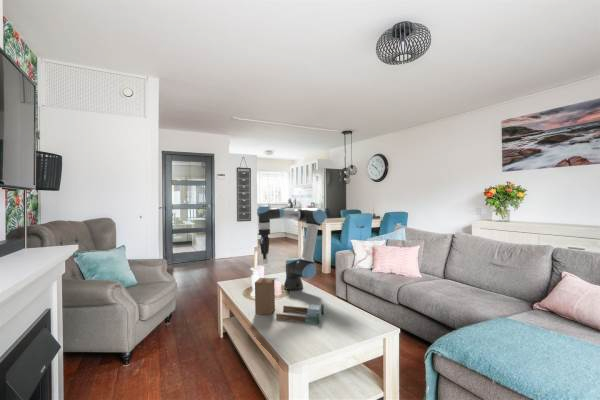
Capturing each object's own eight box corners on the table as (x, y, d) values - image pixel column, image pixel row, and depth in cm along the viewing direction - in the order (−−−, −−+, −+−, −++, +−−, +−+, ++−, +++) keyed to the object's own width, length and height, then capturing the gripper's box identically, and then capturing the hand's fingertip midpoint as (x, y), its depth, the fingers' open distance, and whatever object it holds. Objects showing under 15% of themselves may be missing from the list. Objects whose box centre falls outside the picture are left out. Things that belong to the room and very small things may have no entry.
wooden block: (270, 315, 175) (269, 282, 174) (255, 314, 177) (254, 282, 176) (275, 308, 184) (274, 278, 184) (260, 307, 186) (259, 277, 186)
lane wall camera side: (277, 318, 170) (276, 308, 170) (319, 322, 163) (319, 312, 163) (276, 319, 169) (276, 309, 169) (318, 324, 161) (318, 313, 161)
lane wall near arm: (284, 310, 182) (284, 300, 182) (323, 314, 175) (323, 304, 174) (283, 310, 181) (283, 301, 181) (323, 315, 173) (323, 305, 173)
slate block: (310, 315, 173) (310, 304, 173) (321, 316, 171) (321, 305, 171) (307, 320, 166) (307, 308, 166) (319, 321, 165) (318, 309, 164)
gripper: (262, 227, 198) (263, 261, 198) (255, 229, 185) (256, 265, 186) (272, 227, 196) (273, 261, 196) (266, 230, 183) (267, 266, 184)
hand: (265, 263), depth 191 cm, fingers closed
